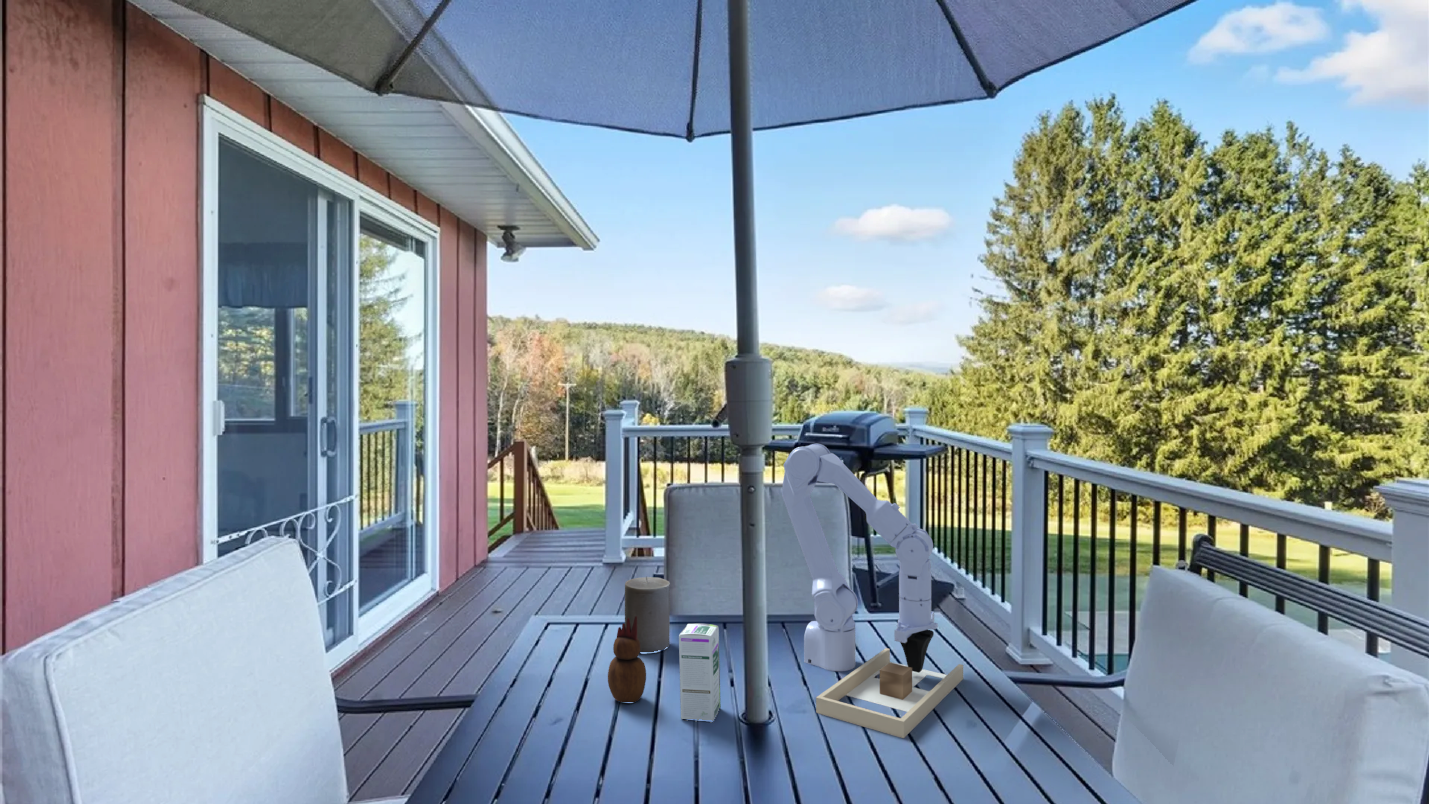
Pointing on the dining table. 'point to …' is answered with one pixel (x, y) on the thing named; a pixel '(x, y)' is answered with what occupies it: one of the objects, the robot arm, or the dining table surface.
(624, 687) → the wooden figurine
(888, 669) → the walnut block
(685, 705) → the syrup box
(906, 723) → the board
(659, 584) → the pillar candle
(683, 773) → the dining table surface
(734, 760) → the dining table surface
